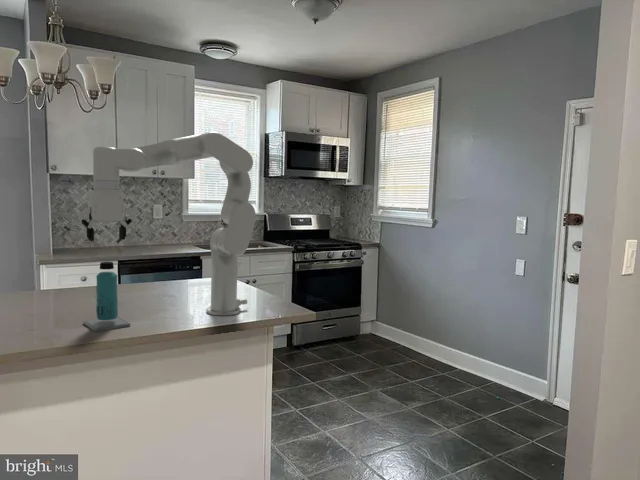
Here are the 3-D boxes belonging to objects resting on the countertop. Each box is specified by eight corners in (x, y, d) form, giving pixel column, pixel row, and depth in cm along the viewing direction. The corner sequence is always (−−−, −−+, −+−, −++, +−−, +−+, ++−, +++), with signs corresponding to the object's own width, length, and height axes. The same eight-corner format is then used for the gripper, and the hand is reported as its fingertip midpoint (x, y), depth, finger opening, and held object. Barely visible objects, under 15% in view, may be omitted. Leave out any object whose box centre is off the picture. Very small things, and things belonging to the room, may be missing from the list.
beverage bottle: (121, 319, 157) (121, 260, 155) (113, 325, 150) (113, 263, 148) (101, 319, 157) (101, 260, 155) (92, 324, 150) (92, 263, 148)
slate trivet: (117, 318, 161) (117, 316, 161) (130, 326, 153) (130, 323, 153) (83, 323, 154) (83, 321, 154) (95, 332, 146) (95, 329, 146)
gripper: (129, 187, 157) (129, 237, 159) (73, 185, 145) (74, 239, 147) (138, 187, 152) (138, 239, 154) (81, 185, 140) (82, 242, 142)
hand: (106, 239), depth 151 cm, fingers open, 9 cm apart
